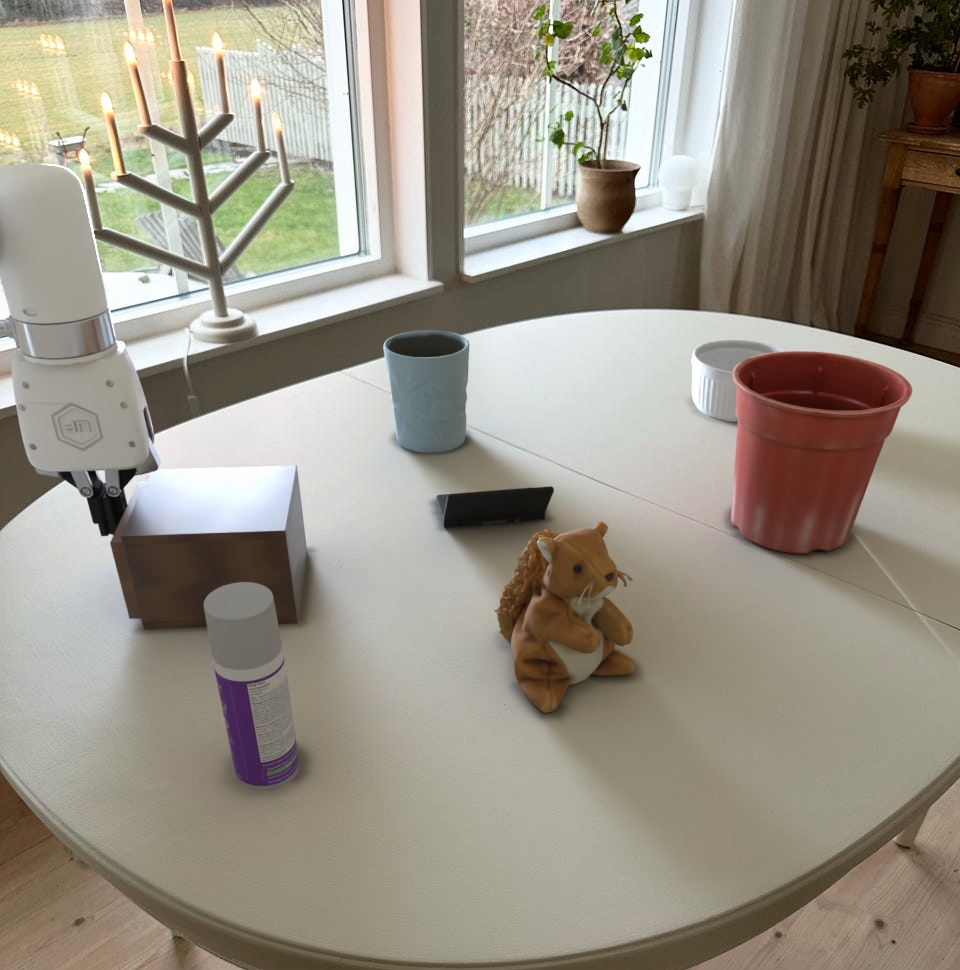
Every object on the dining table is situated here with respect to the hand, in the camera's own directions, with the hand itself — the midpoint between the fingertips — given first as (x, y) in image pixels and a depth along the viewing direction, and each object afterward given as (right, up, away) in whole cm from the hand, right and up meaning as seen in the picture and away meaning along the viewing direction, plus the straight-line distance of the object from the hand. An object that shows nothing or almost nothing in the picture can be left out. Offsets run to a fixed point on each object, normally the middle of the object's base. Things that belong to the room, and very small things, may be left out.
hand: (113, 528), depth 89 cm
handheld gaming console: (+36, +2, +13) cm, 38 cm away
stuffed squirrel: (+41, -12, -7) cm, 43 cm away
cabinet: (+11, -6, +1) cm, 12 cm away
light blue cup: (+28, +14, +29) cm, 43 cm away
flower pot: (+67, +1, +12) cm, 68 cm away
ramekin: (+68, +20, +38) cm, 81 cm away
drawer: (+8, -5, +1) cm, 10 cm away
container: (+19, -20, -18) cm, 33 cm away
